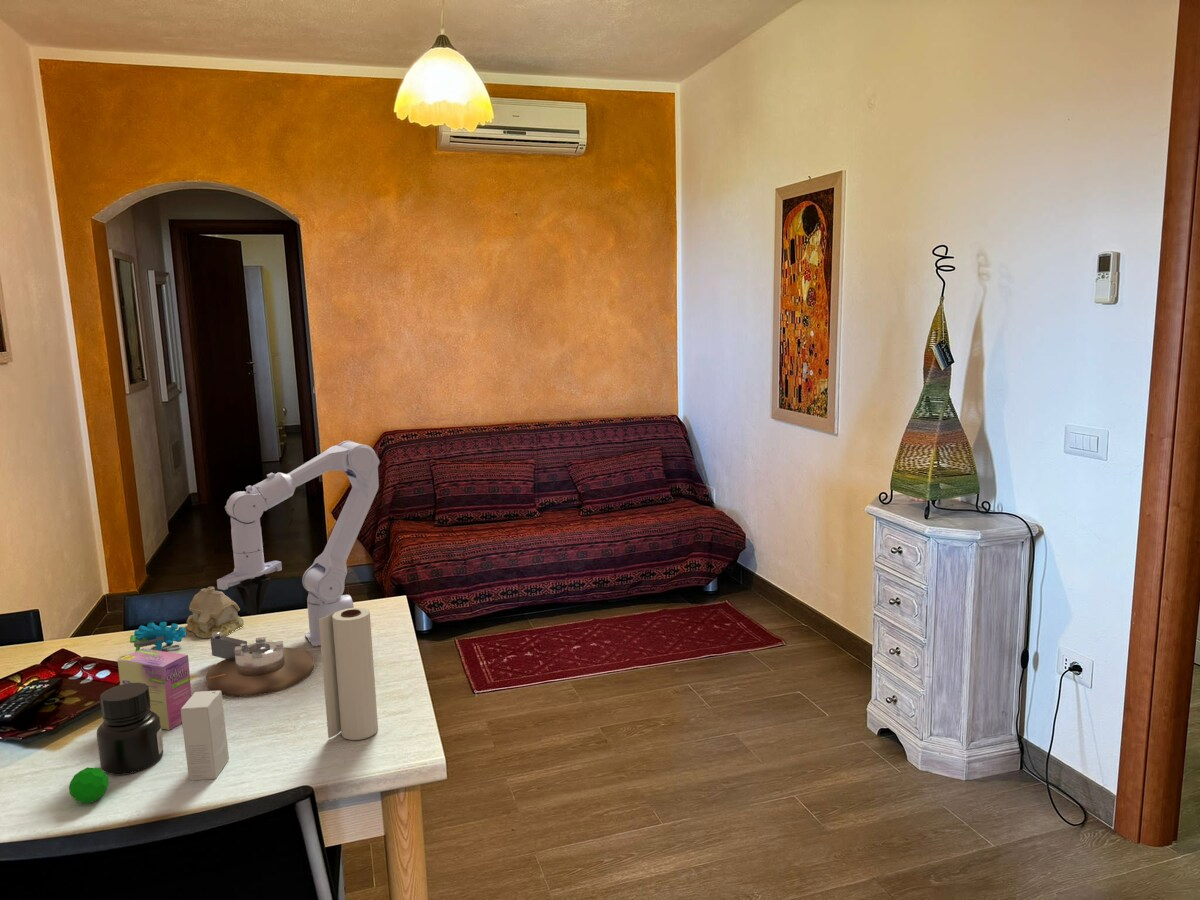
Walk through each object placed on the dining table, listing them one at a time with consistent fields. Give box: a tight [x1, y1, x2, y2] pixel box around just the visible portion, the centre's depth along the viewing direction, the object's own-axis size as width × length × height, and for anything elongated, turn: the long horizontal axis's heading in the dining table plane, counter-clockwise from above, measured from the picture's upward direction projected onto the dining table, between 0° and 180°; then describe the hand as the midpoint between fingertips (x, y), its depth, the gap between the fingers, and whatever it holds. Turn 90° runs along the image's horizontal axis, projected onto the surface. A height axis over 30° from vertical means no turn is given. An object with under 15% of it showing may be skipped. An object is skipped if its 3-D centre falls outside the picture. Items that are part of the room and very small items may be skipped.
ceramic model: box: [186, 586, 245, 639], centre depth 195 cm, size 14×11×10 cm
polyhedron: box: [68, 766, 110, 804], centre depth 126 cm, size 5×5×5 cm
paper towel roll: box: [319, 607, 379, 741], centre depth 143 cm, size 7×6×21 cm
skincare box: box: [181, 690, 230, 781], centre depth 132 cm, size 6×4×12 cm
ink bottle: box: [96, 683, 164, 775], centre depth 136 cm, size 10×9×12 cm
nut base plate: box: [205, 646, 315, 697], centre depth 169 cm, size 20×20×2 cm
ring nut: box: [209, 631, 285, 676], centre depth 171 cm, size 18×9×5 cm, turn 62°
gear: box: [129, 621, 187, 652], centre depth 181 cm, size 11×6×10 cm
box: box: [117, 647, 193, 731], centre depth 150 cm, size 10×6×12 cm, turn 71°
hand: (254, 612), depth 177 cm, fingers closed
